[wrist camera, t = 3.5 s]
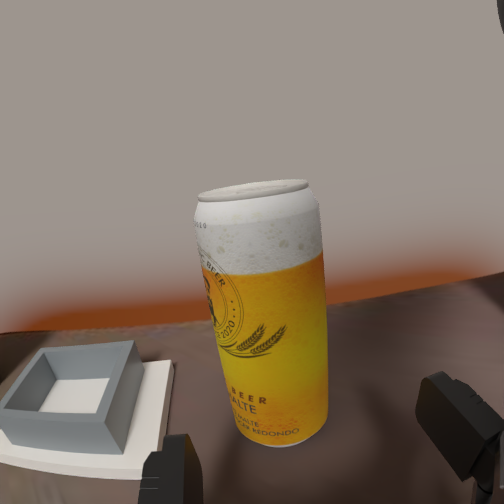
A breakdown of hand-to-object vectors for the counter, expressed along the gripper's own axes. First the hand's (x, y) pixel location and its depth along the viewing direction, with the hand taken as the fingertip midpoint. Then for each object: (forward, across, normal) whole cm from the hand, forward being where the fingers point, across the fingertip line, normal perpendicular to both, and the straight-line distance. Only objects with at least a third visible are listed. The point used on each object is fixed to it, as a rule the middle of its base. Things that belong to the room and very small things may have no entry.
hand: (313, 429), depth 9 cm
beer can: (+8, 0, +8) cm, 12 cm away
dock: (+10, +15, +8) cm, 20 cm away
